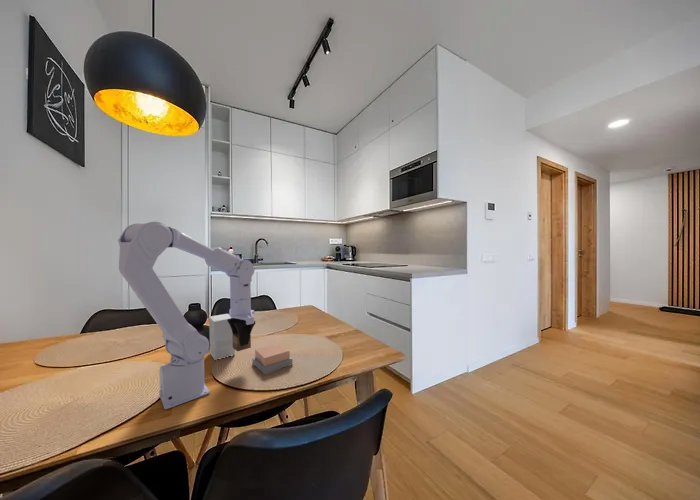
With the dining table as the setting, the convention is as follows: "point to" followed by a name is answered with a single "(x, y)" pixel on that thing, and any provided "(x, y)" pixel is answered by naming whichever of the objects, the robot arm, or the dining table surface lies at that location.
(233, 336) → the walnut cube
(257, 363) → the slate slab
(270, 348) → the terracotta tile
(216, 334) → the small box
